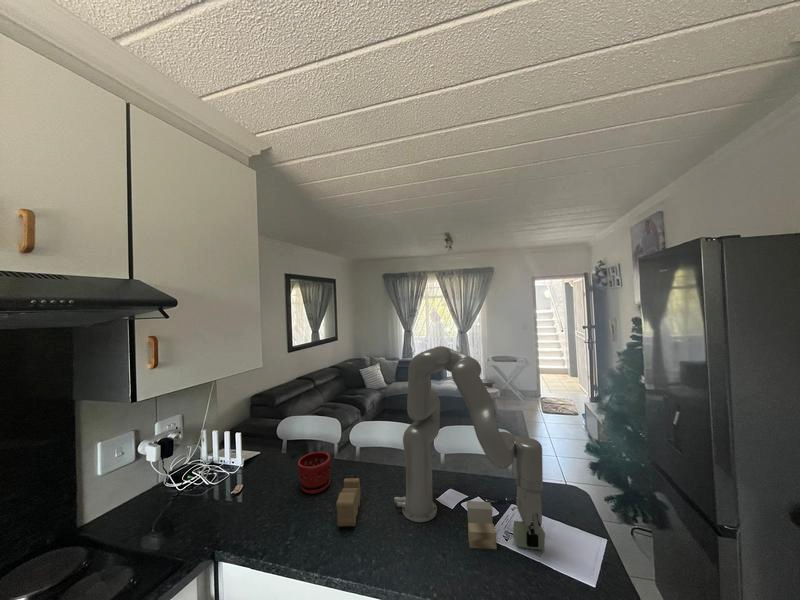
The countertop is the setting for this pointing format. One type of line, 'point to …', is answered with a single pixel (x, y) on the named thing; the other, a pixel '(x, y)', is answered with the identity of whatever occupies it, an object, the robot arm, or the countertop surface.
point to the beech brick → (482, 535)
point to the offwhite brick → (479, 512)
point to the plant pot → (314, 472)
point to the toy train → (348, 502)
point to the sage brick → (521, 535)
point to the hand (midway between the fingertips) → (529, 539)
